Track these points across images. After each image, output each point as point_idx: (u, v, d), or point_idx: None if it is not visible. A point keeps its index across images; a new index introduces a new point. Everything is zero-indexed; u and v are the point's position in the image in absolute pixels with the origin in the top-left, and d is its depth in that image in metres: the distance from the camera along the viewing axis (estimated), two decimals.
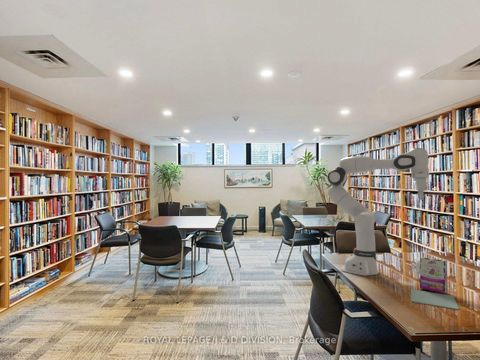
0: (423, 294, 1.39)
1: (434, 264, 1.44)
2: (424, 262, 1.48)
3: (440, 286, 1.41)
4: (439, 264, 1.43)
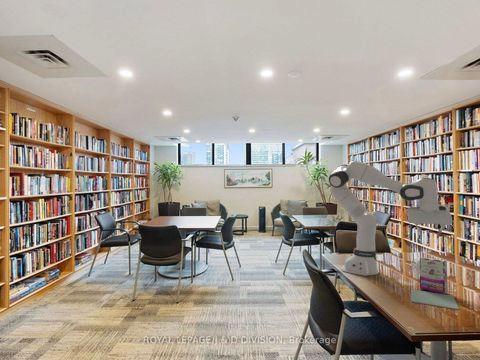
0: (423, 294, 1.39)
1: (434, 265, 1.44)
2: (424, 262, 1.47)
3: (440, 286, 1.40)
4: (439, 264, 1.42)
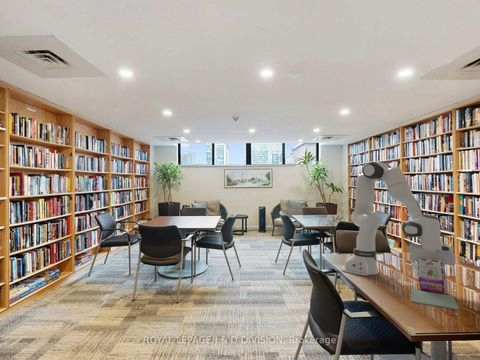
0: (423, 294, 1.39)
1: (431, 265, 1.43)
2: (421, 263, 1.47)
3: (439, 286, 1.40)
4: (436, 265, 1.42)
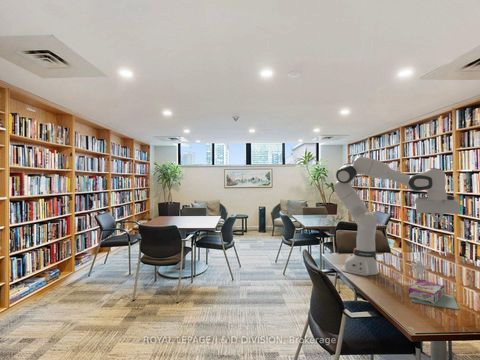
0: None
1: None
2: None
3: None
4: None
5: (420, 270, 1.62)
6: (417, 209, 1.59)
